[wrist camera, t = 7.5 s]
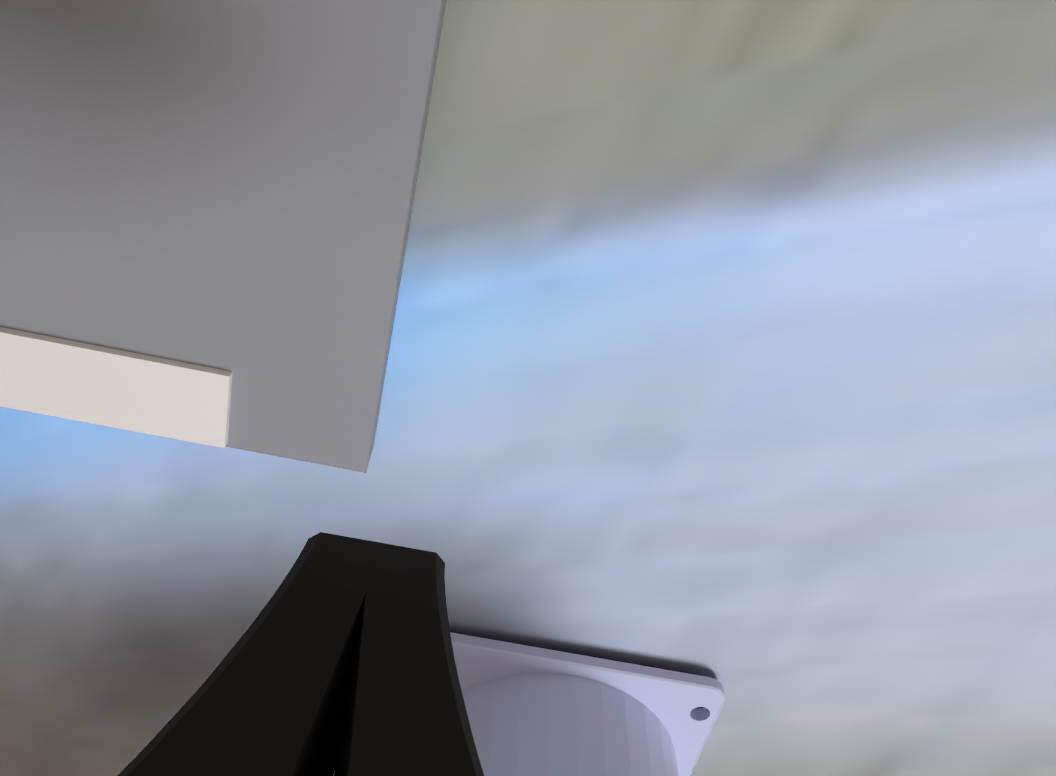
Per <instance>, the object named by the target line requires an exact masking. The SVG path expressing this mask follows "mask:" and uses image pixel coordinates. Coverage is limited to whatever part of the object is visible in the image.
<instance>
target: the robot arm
mask: <svg viewBox="0 0 1056 776" xmlns="http://www.w3.org/2000/svg"><path fill="white" fill-rule="evenodd" d="M444 568H445V563H444V562H443V561H442V559H441V558H440V557H439V555H438V554H437V553H434V552H429V551H423V550H418V549H412V548H406V547H401V546H395V545H389V544H384V543H378V542H373V541H367V540H361V539H356V538H350V537H344V536H339V535H333V534H328V533H322V532H320V533H319V534H317V535H315V536H313V537H311V538H309V539H308V541H307V543H306V545H305V547H304V548H303V550H302V552H301V554H300V556H299V557H298V559H297V561H296V562H295V564H294V565H293V567H292V568H291V570H290V572H289V573H288V575H287V576H286V578H285V579H284V581H283V582H282V584H281V585H280V587H279V588H278V589H277V591H276V592H275V594H274V595H273V597H272V598H271V599H270V601H269V602H268V603H267V605H266V606H265V607H264V609H263V610H262V611H261V613H260V614H259V615H258V617H257V618H256V619H255V621H254V622H253V623H252V625H251V626H250V627H249V629H248V630H247V631H246V632H245V633H244V635H243V636H242V637H241V638H240V640H239V641H238V642H237V643H236V645H235V646H234V647H233V648H232V649H231V651H230V652H229V653H228V654H227V656H226V657H225V658H224V659H223V661H222V662H221V663H220V664H219V665H218V667H217V668H216V669H215V670H214V672H213V673H212V674H211V675H210V676H209V678H208V679H207V680H206V681H205V682H204V683H203V685H202V686H201V687H200V688H199V689H198V690H197V692H196V693H195V694H194V695H193V696H192V697H191V698H190V699H189V700H188V701H187V702H186V704H185V705H184V706H183V707H182V708H181V709H180V710H179V711H178V712H177V713H176V714H175V716H174V717H173V718H172V719H171V720H170V721H169V722H168V723H167V724H166V725H165V726H164V727H163V729H162V730H161V731H160V732H159V733H158V734H157V735H156V736H155V737H154V738H153V739H152V741H151V742H150V743H149V744H148V745H147V746H146V747H145V748H144V749H143V750H142V751H141V752H140V753H139V754H138V756H137V757H136V758H135V759H134V760H133V761H132V762H131V763H130V764H129V765H128V766H127V767H126V768H125V769H124V770H123V771H122V772H121V773H120V774H119V775H118V776H333V774H334V771H335V774H334V776H690V775H691V773H692V771H693V768H694V766H695V764H696V762H697V760H698V758H699V756H700V753H701V751H702V749H703V747H704V745H705V743H706V740H707V738H708V736H709V734H710V732H711V730H712V728H713V725H714V723H715V721H716V719H717V717H718V715H719V713H720V710H721V708H722V706H723V704H724V700H725V695H724V690H723V686H722V684H721V683H720V682H719V681H718V680H717V679H714V678H711V677H706V676H700V675H694V674H688V673H683V672H677V671H671V670H665V669H659V668H654V667H648V666H642V665H636V664H631V663H625V662H619V661H613V660H607V659H602V658H596V657H590V656H584V655H579V654H573V653H567V652H561V651H555V650H550V649H544V648H538V647H532V646H527V645H521V644H515V643H509V642H504V641H498V640H492V639H486V638H480V637H475V636H469V635H463V634H457V633H452V632H450V629H449V622H448V615H447V607H446V597H445V580H444ZM697 707H703V708H700V709H695V708H697Z"/></svg>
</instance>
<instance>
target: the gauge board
mask: <svg viewBox="0 0 1056 776" xmlns="http://www.w3.org/2000/svg"><path fill="white" fill-rule="evenodd" d="M445 3H446V0H0V406H1V407H7V408H12V409H17V410H23V411H28V412H33V413H39V414H44V415H49V416H55V417H60V418H65V419H71V420H76V421H82V422H87V423H92V424H98V425H103V426H108V427H114V428H119V429H124V430H130V431H135V432H140V433H146V434H151V435H157V436H162V437H167V438H173V439H178V440H183V441H189V442H194V443H199V444H205V445H210V446H215V447H221V448H225V447H231V448H237V449H242V450H247V451H253V452H258V453H263V454H269V455H274V456H279V457H285V458H290V459H295V460H301V461H306V462H311V463H317V464H322V465H328V466H333V467H338V468H344V469H349V470H354V471H360V472H365V473H366V471H367V467H368V464H369V460H370V457H371V453H372V450H373V445H374V439H375V433H376V427H377V421H378V415H379V408H380V402H381V396H382V390H383V384H384V378H385V372H386V365H387V359H388V353H389V347H390V341H391V335H392V329H393V322H394V316H395V310H396V304H397V298H398V292H399V286H400V279H401V273H402V267H403V261H404V255H405V249H406V243H407V236H408V230H409V224H410V218H411V212H412V206H413V200H414V193H415V187H416V181H417V175H418V169H419V163H420V157H421V150H422V144H423V138H424V132H425V126H426V120H427V114H428V107H429V101H430V95H431V89H432V83H433V77H434V71H435V64H436V58H437V52H438V46H439V40H440V34H441V28H442V21H443V15H444V9H445Z"/></svg>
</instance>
